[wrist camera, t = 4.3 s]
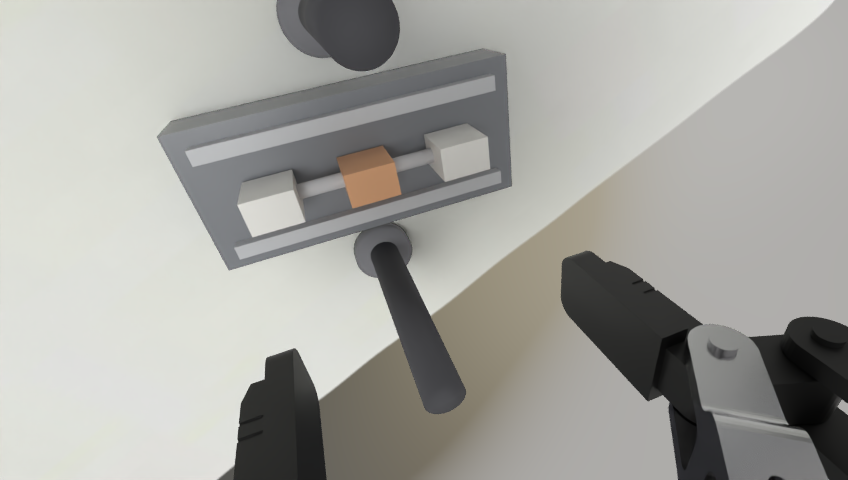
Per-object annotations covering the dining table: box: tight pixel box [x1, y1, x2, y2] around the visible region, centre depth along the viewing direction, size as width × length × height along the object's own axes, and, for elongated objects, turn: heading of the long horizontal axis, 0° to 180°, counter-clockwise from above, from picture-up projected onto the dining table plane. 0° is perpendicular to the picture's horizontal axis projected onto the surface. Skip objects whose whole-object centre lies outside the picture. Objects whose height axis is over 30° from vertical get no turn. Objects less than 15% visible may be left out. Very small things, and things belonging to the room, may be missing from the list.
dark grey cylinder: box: [276, 0, 400, 71], centre depth 15 cm, size 4×4×14 cm
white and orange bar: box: [237, 123, 490, 237], centre depth 21 cm, size 13×2×3 cm, turn 100°
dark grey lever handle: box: [354, 223, 466, 414], centre depth 24 cm, size 4×4×14 cm
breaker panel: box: [157, 49, 512, 270], centre depth 24 cm, size 18×8×4 cm, turn 100°
